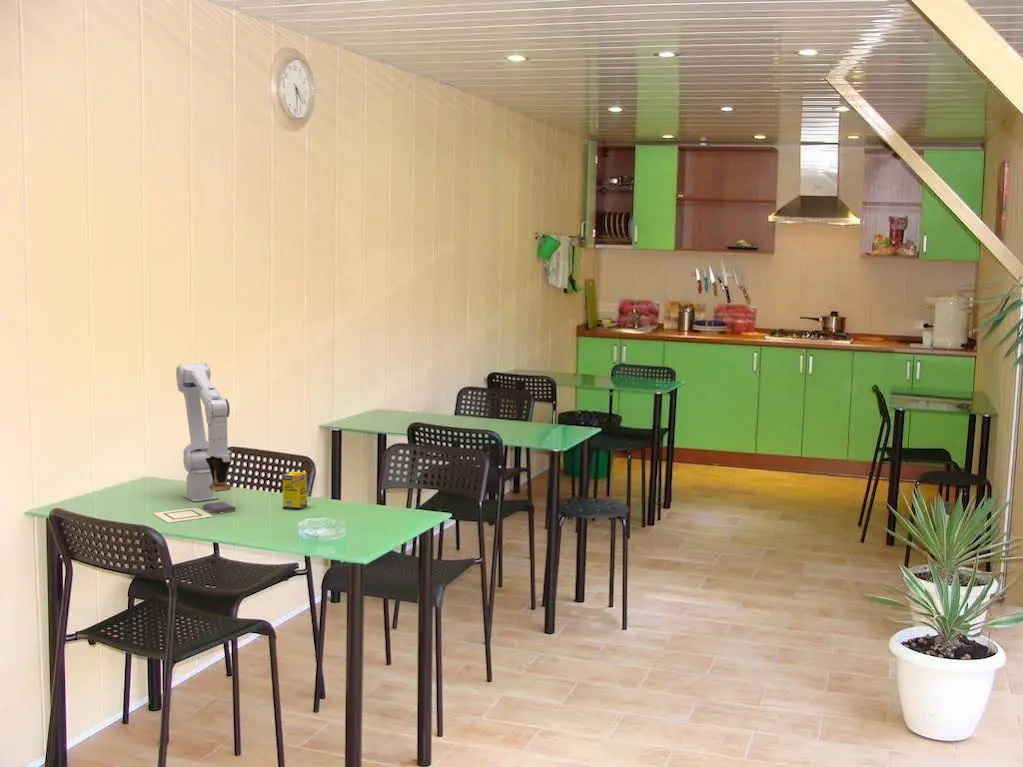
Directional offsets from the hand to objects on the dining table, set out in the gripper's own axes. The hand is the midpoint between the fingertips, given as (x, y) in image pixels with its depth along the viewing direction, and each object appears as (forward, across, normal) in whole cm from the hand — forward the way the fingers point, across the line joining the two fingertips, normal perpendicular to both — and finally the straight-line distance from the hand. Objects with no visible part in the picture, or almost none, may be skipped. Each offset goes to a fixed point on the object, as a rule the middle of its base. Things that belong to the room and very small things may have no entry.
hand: (218, 481), depth 354 cm
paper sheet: (+9, -1, +12) cm, 15 cm away
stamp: (+3, 0, 0) cm, 3 cm away
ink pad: (+9, 0, 0) cm, 9 cm away
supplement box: (+9, -10, -21) cm, 25 cm away
